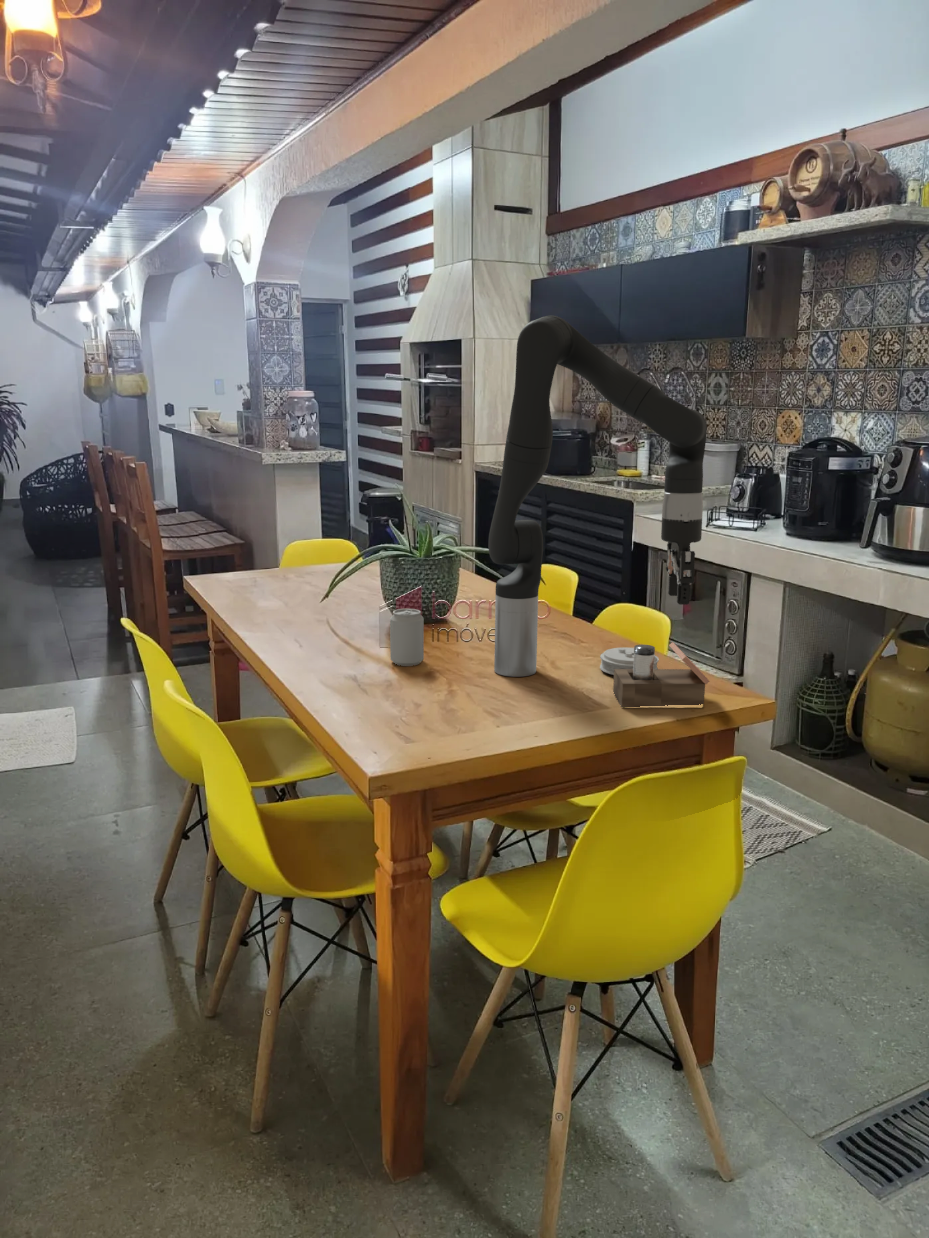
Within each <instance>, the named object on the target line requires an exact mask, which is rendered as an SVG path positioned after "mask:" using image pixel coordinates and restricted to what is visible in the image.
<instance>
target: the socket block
mask: <svg viewBox="0 0 929 1238" xmlns="http://www.w3.org/2000/svg"><path fill="white" fill-rule="evenodd" d="M705 689H706V684H705V683H704V682H703V681H702V680H701V679H700V678H699V677H698V676H697V675H696V674H695V673H694V672H693V671H692V670H691V669H690V668H687V669H684V668H683V669H682V668H680V669H679V668H674V669H673V668H671V669H668V668H667V669H666V668H664V669H663V668H658V669H654V673H653V680H633V669H614V675H613V686H612V693H613V692H614V693H613V695H614V694H615V695H614V697H615V696H616V697H615V699H616V698H617V699H616V700H618V701H617V702H618V704H619V706H620V705H621V706H620V708H621V707H640V706H665V705H667V706H668V705H699V704H700V705H701V704H704V705H705V691H706V690H705Z"/></svg>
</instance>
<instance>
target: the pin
mask: <svg viewBox="0 0 929 1238" xmlns="http://www.w3.org/2000/svg"><path fill="white" fill-rule="evenodd" d="M633 648H634V663H633V680H653V673H654V655H655V654H656V653H655V652H656V647H655V646H653V645H649V644H636V645H634V647H633ZM655 656H656V655H655Z"/></svg>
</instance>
